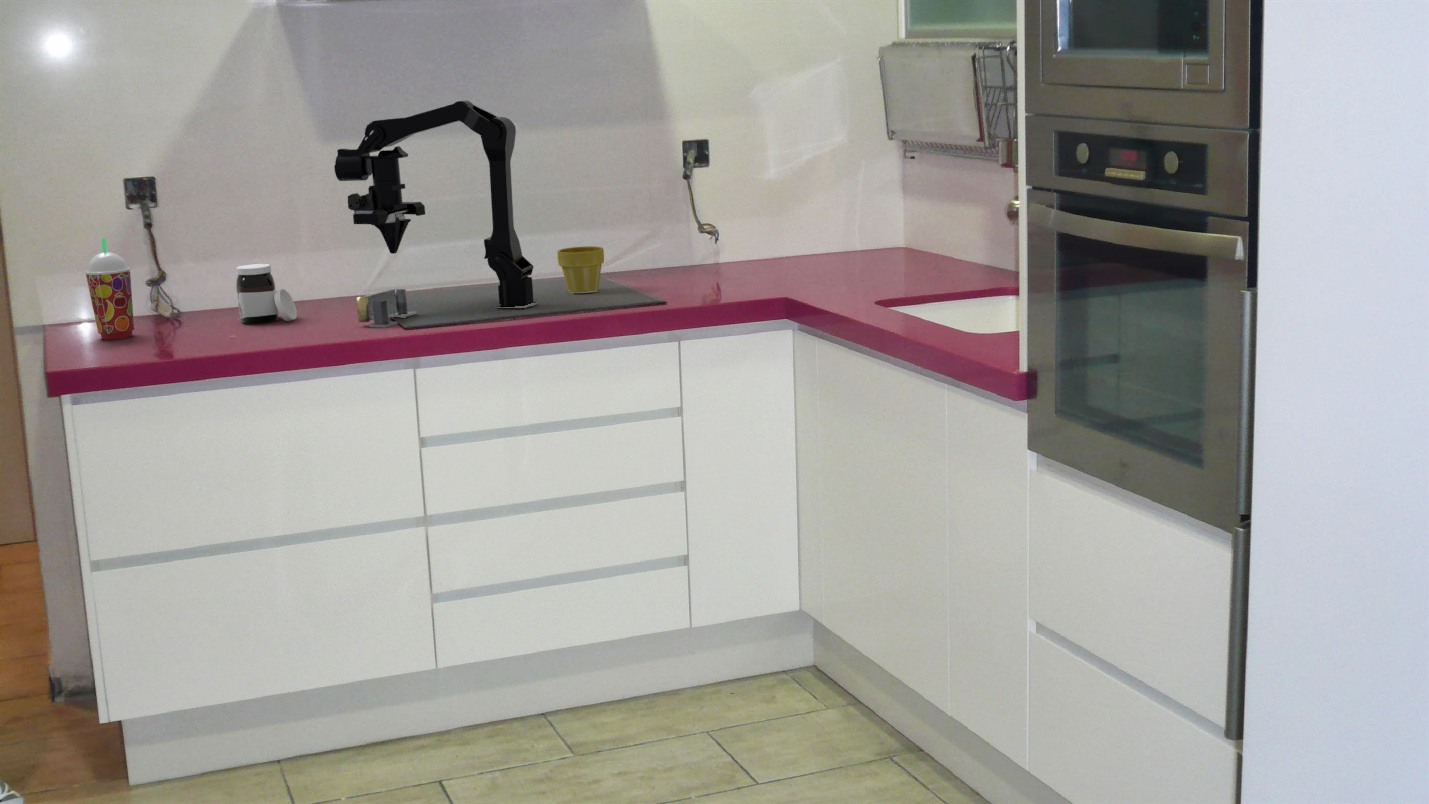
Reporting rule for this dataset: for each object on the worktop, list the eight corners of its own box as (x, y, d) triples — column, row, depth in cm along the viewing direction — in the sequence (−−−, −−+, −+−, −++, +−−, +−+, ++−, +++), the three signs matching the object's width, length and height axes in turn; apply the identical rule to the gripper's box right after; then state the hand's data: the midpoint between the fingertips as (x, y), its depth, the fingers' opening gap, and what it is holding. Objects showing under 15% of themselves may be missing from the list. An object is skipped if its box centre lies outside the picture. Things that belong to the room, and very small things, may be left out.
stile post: (397, 324, 287) (395, 299, 286) (386, 327, 283) (384, 303, 282) (381, 323, 288) (378, 299, 287) (369, 327, 285) (367, 302, 284)
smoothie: (102, 334, 288) (88, 236, 284) (144, 332, 289) (131, 234, 284) (88, 342, 280) (74, 241, 275) (131, 340, 281) (118, 239, 276)
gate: (390, 312, 295) (388, 288, 294) (399, 313, 294) (396, 289, 293) (356, 322, 285) (354, 297, 284) (365, 322, 284) (362, 298, 283)
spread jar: (238, 319, 300) (231, 265, 298) (293, 314, 304) (287, 260, 302) (243, 328, 289) (237, 271, 287) (300, 322, 294) (294, 266, 291)
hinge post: (417, 314, 298) (415, 288, 296) (404, 318, 293) (402, 292, 292) (397, 313, 300) (395, 287, 298) (384, 317, 295) (381, 291, 294)
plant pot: (551, 295, 315) (548, 251, 313) (573, 288, 325) (570, 245, 322) (593, 296, 312) (590, 252, 309) (613, 289, 321) (611, 246, 319)
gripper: (380, 176, 311) (386, 247, 314) (328, 184, 294) (335, 259, 298) (423, 176, 307) (429, 247, 310) (373, 184, 290) (380, 259, 293)
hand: (393, 253), depth 303 cm, fingers closed
